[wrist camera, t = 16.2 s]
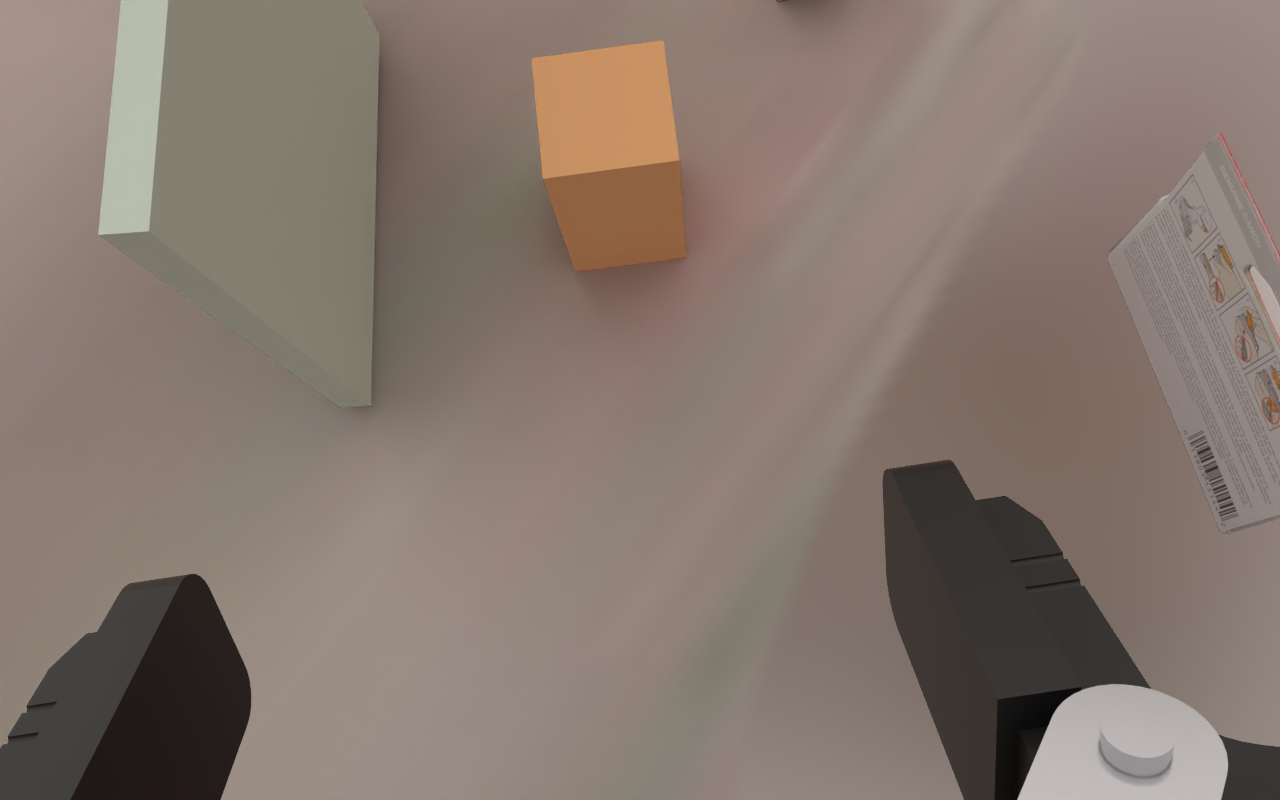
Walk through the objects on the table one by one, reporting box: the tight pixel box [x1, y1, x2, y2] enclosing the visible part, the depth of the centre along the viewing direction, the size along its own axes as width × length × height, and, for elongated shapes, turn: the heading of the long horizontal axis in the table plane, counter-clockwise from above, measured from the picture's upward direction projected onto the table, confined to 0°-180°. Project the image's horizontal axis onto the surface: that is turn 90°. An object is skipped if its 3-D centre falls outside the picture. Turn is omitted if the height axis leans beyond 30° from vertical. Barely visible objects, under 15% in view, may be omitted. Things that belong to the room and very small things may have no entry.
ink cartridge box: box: [1107, 133, 1280, 534], centre depth 34 cm, size 2×11×10 cm, turn 15°
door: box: [98, 0, 380, 408], centre depth 34 cm, size 16×2×16 cm, turn 3°
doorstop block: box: [531, 40, 686, 272], centre depth 38 cm, size 4×4×8 cm
